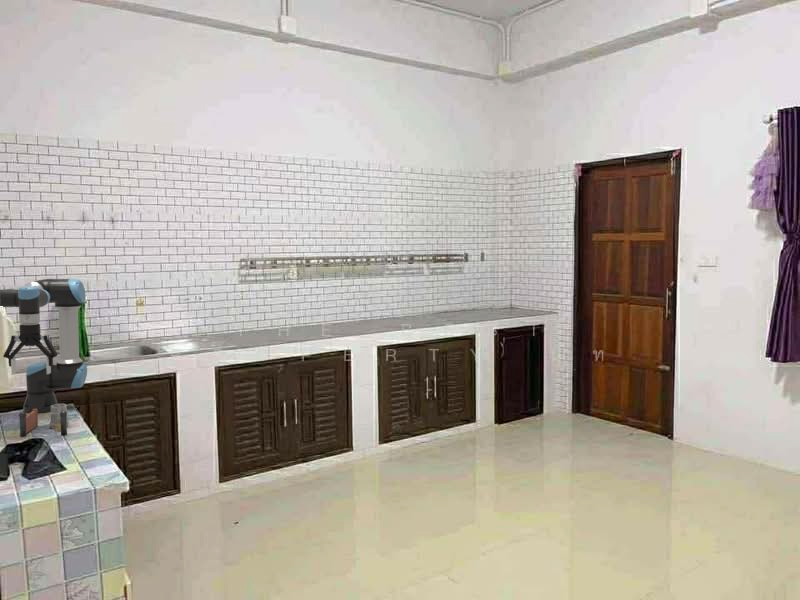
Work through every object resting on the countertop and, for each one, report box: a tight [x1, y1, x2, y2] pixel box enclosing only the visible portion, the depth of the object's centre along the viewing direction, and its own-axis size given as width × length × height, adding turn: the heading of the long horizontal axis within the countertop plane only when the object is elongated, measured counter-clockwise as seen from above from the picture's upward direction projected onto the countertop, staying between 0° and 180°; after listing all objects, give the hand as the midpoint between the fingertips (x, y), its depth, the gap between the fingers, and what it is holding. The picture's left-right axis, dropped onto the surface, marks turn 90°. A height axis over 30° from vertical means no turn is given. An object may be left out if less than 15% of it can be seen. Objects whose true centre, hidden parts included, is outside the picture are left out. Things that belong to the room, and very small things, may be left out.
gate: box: [26, 409, 39, 434], centre depth 288 cm, size 13×2×8 cm, turn 10°
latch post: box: [55, 411, 68, 437], centre depth 283 cm, size 4×4×11 cm
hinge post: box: [18, 411, 28, 438], centre depth 280 cm, size 3×3×11 cm
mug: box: [49, 403, 69, 430], centre depth 293 cm, size 8×12×12 cm, turn 29°
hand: (31, 373), depth 275 cm, fingers open, 13 cm apart
